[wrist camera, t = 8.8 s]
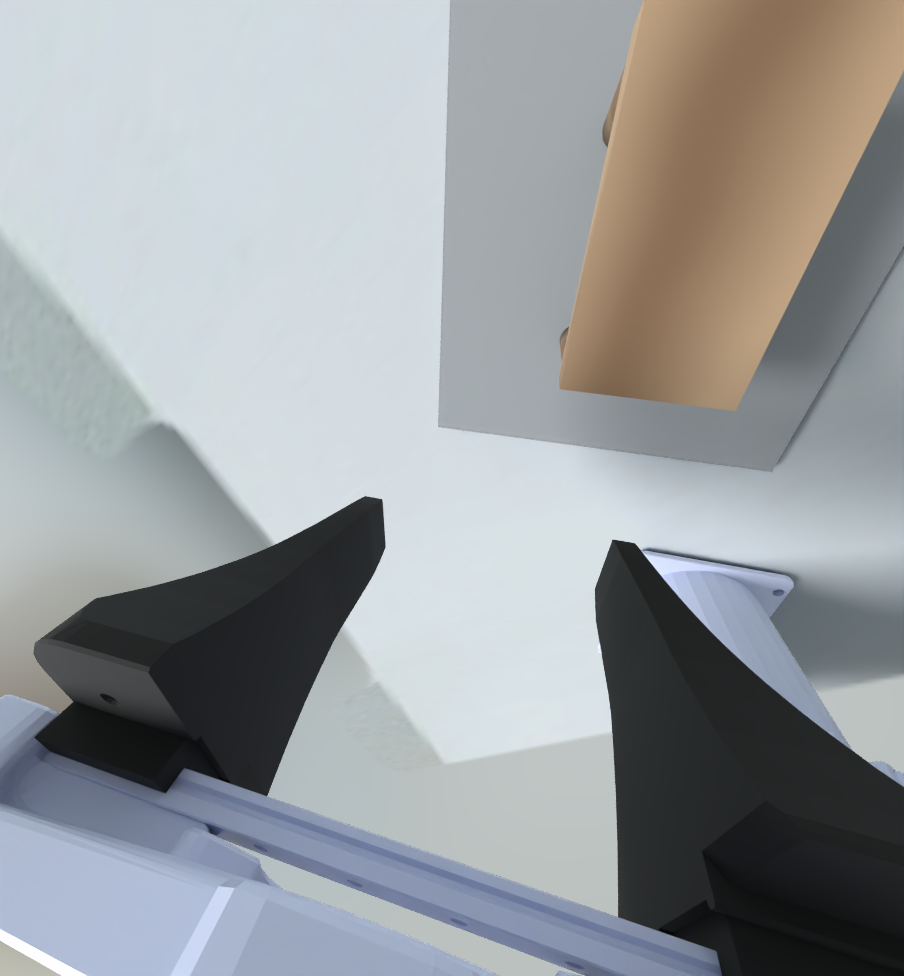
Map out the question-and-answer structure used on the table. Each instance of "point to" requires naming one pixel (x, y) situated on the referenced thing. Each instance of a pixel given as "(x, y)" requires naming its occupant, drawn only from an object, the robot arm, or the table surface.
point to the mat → (564, 235)
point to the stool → (721, 186)
